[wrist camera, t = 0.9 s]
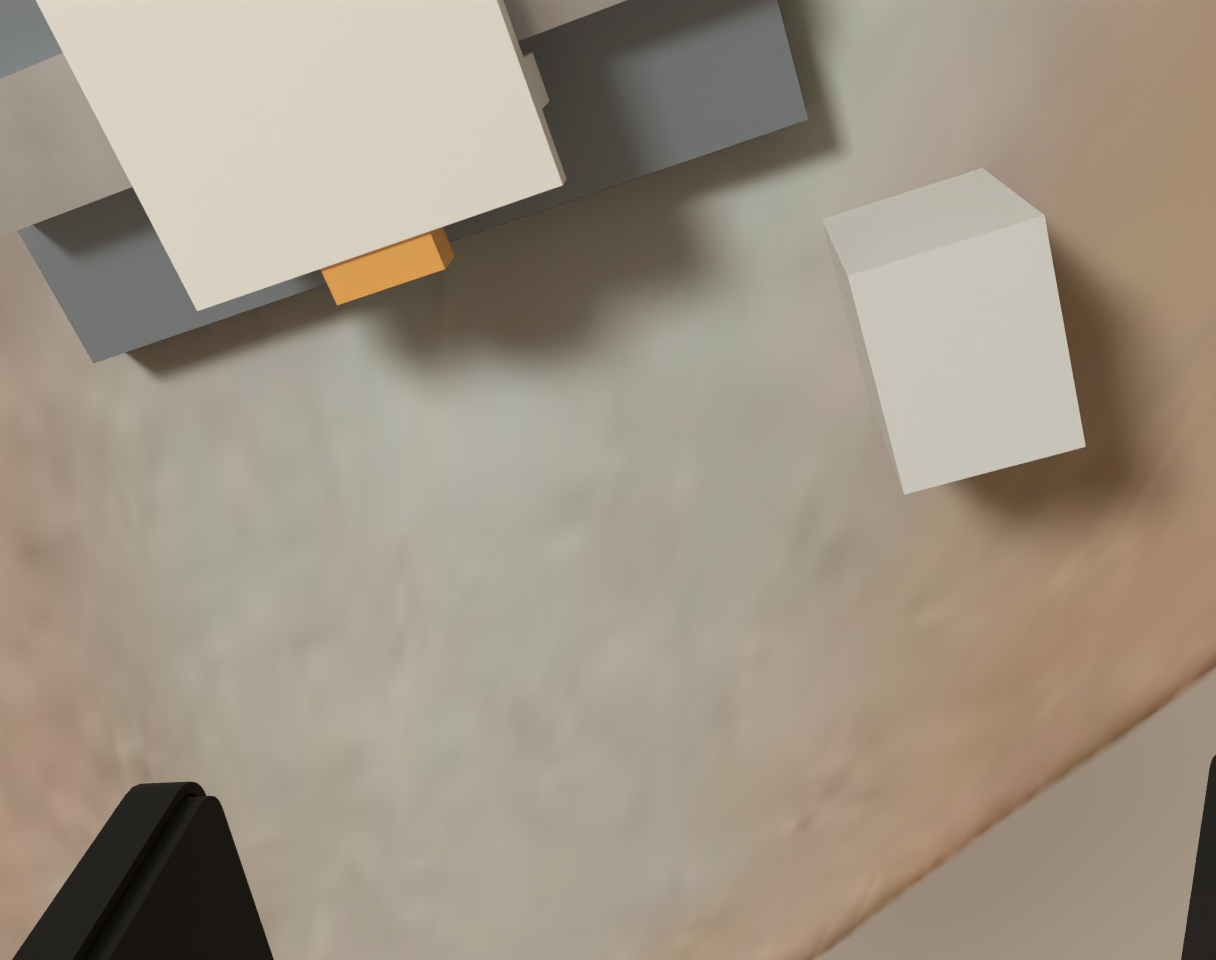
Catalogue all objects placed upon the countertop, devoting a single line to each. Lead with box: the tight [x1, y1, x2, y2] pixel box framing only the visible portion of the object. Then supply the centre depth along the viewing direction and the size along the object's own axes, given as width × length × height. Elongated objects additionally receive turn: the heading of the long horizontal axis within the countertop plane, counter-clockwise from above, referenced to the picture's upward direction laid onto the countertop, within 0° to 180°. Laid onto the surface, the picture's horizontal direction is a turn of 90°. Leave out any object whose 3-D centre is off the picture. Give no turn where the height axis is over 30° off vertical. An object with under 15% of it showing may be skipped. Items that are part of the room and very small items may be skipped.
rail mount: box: [0, 0, 808, 363], centre depth 28 cm, size 22×12×3 cm, turn 109°
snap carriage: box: [36, 0, 566, 311], centre depth 26 cm, size 10×11×2 cm
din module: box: [822, 168, 1086, 494], centre depth 29 cm, size 4×6×6 cm
